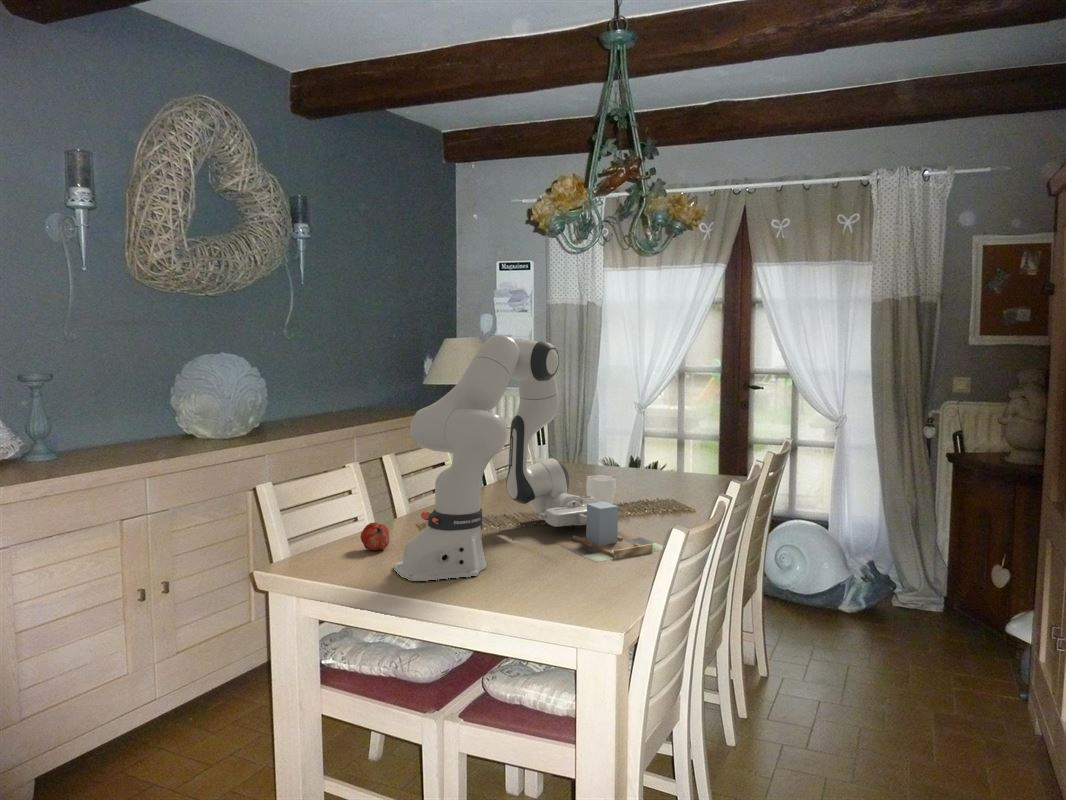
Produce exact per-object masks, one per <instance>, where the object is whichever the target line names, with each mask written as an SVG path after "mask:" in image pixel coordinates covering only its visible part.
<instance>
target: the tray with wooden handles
mask: <svg viewBox="0 0 1066 800" xmlns="http://www.w3.org/2000/svg"><path fill="white" fill-rule="evenodd" d="M553 543H554V544H556V545H559V546H560V547H562V548H565V550H566V549H567V550H569V551H571V552H573V553H575V554H577V555H579V556H581V557H583V558H585V559H588V560H590V561H591V562H594V563H599V562H605V561H610V560H617V559H621V558H628V557H634V556H639V555H643V554H644V555H645V554H649V553H655V552H661V551H663V550H662V549H663V546H664V545H662V544H659V543H657V542H654V541H652V540H649V539H646V538H644V537H641V536H640V535H637V534H634V533H631V532H629V531H626V530H619V531H618V534H617V543H612V544H606V545H600V546H599V545H596V544H594V543H592V542H590V541H587V540H586V536H577V535H572V538H568V539H563V540H562V539H561V540H555V541H553Z"/></svg>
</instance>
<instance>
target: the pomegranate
mask: <svg viewBox="0 0 1066 800" xmlns="http://www.w3.org/2000/svg"><path fill="white" fill-rule="evenodd" d="M389 533H390V531H389V528H388V526H387V525H385V524H380V523H378V522H370V523H369V524H367V525H365V527H364V528H363V529H362V531H361V533H360V541H361V543H363V546H364V548H365V549H367V550H368V551H371V550H374V551H379V550H381V549H382V550H385V549H386V548H387V547H388V546H389V543H390V534H389Z"/></svg>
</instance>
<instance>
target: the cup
mask: <svg viewBox="0 0 1066 800" xmlns="http://www.w3.org/2000/svg"><path fill="white" fill-rule="evenodd" d="M585 487H586V488H585V489H586V496H591V497H594V498H595V500H598V501H602V502H608V503H610V504H613V505H614V498H615V494H616V493H615V492H616V478H615V477H614V476H612V475H605V474H604V475H603V474H593V475H588V476H586V486H585Z"/></svg>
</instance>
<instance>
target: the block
mask: <svg viewBox="0 0 1066 800" xmlns="http://www.w3.org/2000/svg"><path fill="white" fill-rule="evenodd" d="M618 526H619V506H618V505H617V504H614V503H613V504H610V503H608V502H598V503H591V504H587V523H586V529H585V530H586V535H585V537H586V540H587V541H590V542H592V543H594V544H596V545H599V546H600V545H606V544H612V543H617V534H618V530H619V529H618V528H619V527H618Z"/></svg>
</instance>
